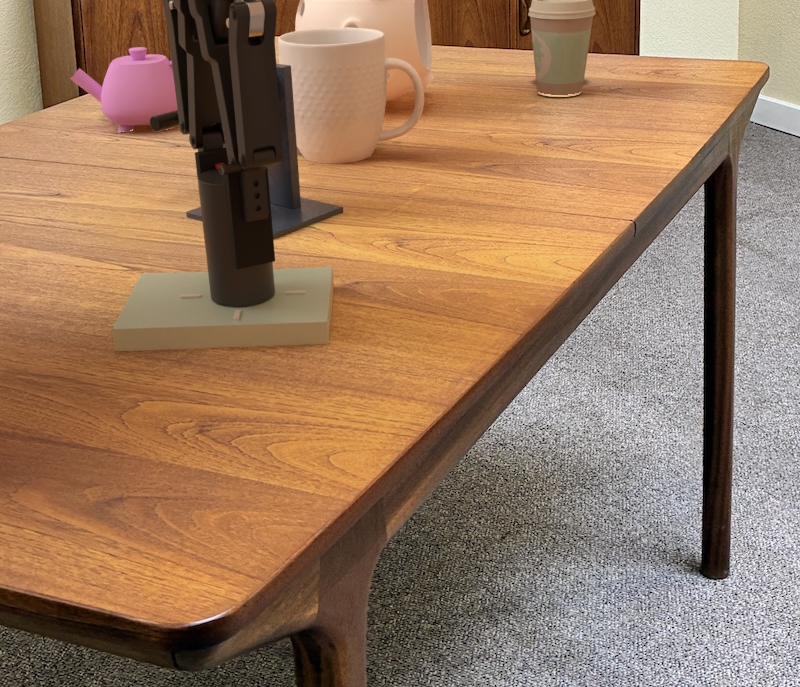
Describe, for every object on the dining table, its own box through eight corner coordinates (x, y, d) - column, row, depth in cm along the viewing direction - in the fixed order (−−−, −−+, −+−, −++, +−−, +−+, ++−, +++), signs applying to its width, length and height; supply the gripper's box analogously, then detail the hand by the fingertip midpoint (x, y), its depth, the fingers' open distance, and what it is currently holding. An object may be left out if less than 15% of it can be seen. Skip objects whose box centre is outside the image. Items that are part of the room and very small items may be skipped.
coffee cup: (532, 85, 150) (534, -7, 145) (596, 87, 147) (600, -7, 142) (521, 99, 142) (522, 3, 137) (588, 101, 140) (592, 3, 135)
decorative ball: (320, 90, 151) (310, -62, 143) (444, 90, 149) (442, -65, 140) (283, 125, 133) (270, -46, 125) (424, 126, 131) (420, -49, 123)
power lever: (154, 138, 101) (145, 113, 101) (203, 125, 106) (195, 100, 105) (243, 105, 92) (234, 77, 92) (293, 92, 97) (284, 65, 96)
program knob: (285, 297, 75) (275, 172, 72) (225, 312, 74) (211, 184, 70) (259, 278, 79) (249, 158, 75) (201, 291, 77) (187, 168, 73)
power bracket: (187, 224, 100) (169, 70, 94) (258, 199, 107) (245, 53, 101) (273, 247, 94) (259, 84, 88) (343, 219, 100) (335, 65, 94)
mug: (423, 144, 123) (420, 23, 118) (427, 171, 113) (425, 41, 108) (289, 148, 123) (280, 28, 118) (282, 176, 113) (272, 46, 108)
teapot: (196, 133, 131) (187, 53, 127) (68, 138, 131) (56, 58, 127) (206, 113, 140) (198, 38, 137) (87, 118, 140) (75, 43, 136)
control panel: (117, 370, 73) (110, 326, 72) (146, 311, 82) (141, 271, 81) (329, 362, 73) (326, 318, 72) (335, 304, 82) (332, 264, 81)
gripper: (98, -120, 70) (145, 228, 80) (194, -114, 57) (236, 306, 66) (209, -126, 74) (241, 209, 84) (325, -122, 60) (347, 280, 70)
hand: (239, 251), depth 75 cm, fingers closed on program knob, 4 cm apart
